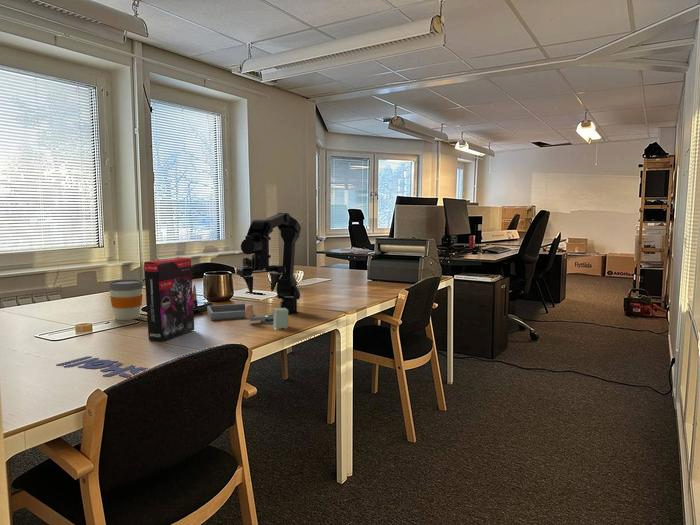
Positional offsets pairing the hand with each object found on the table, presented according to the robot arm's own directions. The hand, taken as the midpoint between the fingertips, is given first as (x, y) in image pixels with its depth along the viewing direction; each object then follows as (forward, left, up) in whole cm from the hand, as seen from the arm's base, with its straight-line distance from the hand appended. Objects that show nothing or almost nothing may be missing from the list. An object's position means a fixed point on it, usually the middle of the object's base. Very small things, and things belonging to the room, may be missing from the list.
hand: (261, 292), depth 186 cm
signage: (+52, +36, -13) cm, 64 cm away
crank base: (-4, +2, -13) cm, 13 cm away
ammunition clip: (+26, -32, -13) cm, 43 cm away
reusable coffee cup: (+49, -30, -13) cm, 59 cm away
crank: (0, -3, -12) cm, 12 cm away
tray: (+9, -21, -13) cm, 26 cm away
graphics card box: (+33, +5, -13) cm, 36 cm away
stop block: (-6, +7, -13) cm, 16 cm away
